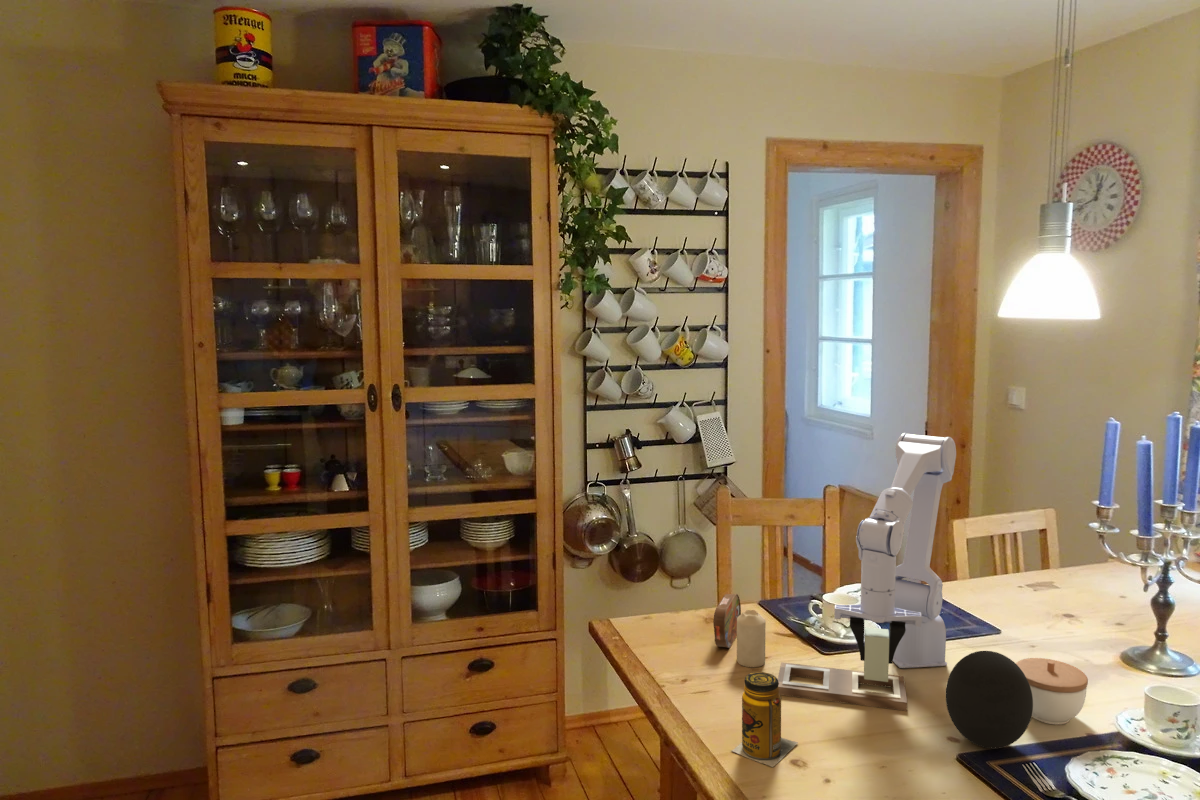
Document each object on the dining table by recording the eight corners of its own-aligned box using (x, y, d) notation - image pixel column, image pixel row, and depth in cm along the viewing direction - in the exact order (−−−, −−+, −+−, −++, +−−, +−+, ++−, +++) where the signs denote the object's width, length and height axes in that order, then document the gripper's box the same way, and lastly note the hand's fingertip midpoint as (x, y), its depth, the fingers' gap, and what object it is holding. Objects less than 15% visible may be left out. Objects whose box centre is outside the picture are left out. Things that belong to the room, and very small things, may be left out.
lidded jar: (1084, 738, 129) (1087, 683, 127) (1009, 721, 134) (1012, 667, 133) (1086, 709, 138) (1089, 657, 136) (1015, 694, 143) (1018, 643, 142)
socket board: (903, 683, 148) (903, 675, 147) (906, 710, 138) (907, 701, 138) (781, 669, 154) (781, 661, 154) (776, 694, 145) (776, 685, 145)
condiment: (731, 752, 127) (731, 679, 126) (757, 729, 133) (758, 660, 132) (772, 768, 122) (773, 694, 121) (798, 744, 129) (799, 673, 127)
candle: (765, 668, 155) (765, 619, 154) (736, 666, 156) (736, 617, 155) (765, 656, 160) (765, 608, 159) (737, 654, 161) (737, 606, 160)
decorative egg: (949, 716, 136) (952, 631, 134) (1032, 735, 130) (1036, 646, 128) (938, 752, 126) (942, 661, 124) (1028, 774, 119) (1033, 678, 117)
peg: (887, 671, 145) (888, 629, 144) (888, 681, 141) (889, 638, 140) (863, 669, 146) (864, 627, 145) (864, 679, 143) (865, 636, 142)
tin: (726, 654, 161) (726, 614, 160) (711, 652, 162) (711, 612, 161) (742, 626, 175) (742, 588, 174) (728, 624, 176) (727, 587, 175)
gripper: (834, 590, 140) (833, 664, 142) (924, 598, 136) (921, 674, 138) (835, 577, 147) (834, 648, 149) (920, 584, 143) (918, 657, 144)
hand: (876, 659), depth 144 cm, fingers closed on peg, 4 cm apart
